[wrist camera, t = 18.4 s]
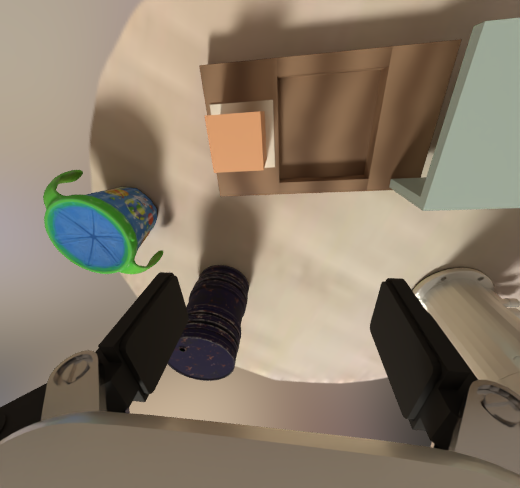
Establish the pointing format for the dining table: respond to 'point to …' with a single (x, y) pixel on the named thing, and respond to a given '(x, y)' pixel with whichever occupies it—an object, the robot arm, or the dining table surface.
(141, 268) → the snack cup
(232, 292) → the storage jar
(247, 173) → the board
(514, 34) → the cover
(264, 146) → the block
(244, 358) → the dining table surface
